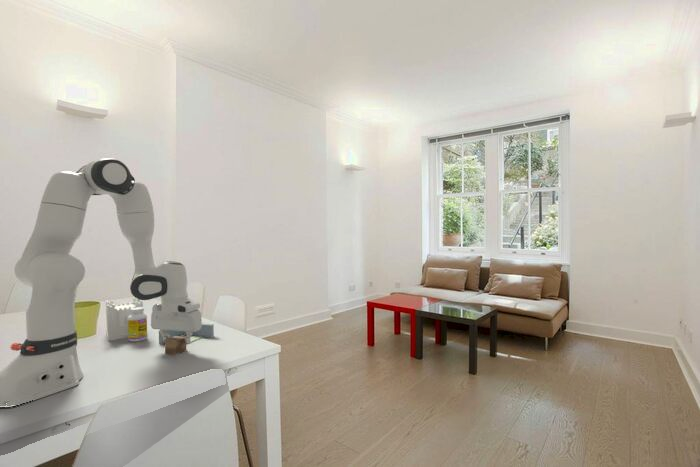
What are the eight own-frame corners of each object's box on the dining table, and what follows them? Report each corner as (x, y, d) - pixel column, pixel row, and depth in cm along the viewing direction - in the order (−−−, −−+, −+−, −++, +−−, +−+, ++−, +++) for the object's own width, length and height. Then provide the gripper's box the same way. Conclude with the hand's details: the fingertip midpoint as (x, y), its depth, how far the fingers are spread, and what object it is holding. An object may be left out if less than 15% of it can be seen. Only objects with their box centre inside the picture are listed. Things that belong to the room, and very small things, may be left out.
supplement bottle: (138, 342, 142) (137, 310, 142) (124, 341, 144) (123, 310, 143) (151, 337, 149) (150, 306, 148) (137, 336, 150) (136, 306, 150)
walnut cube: (176, 354, 129) (175, 341, 128) (165, 353, 130) (164, 340, 130) (186, 350, 133) (186, 336, 133) (175, 349, 135) (175, 335, 135)
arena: (189, 347, 136) (189, 334, 136) (158, 343, 141) (158, 330, 141) (213, 336, 149) (213, 324, 149) (184, 333, 154) (184, 321, 154)
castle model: (107, 341, 145) (106, 305, 145) (106, 332, 157) (105, 299, 157) (144, 334, 153) (143, 301, 152) (140, 326, 165) (139, 295, 164)
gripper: (145, 305, 132) (147, 342, 132) (191, 308, 126) (193, 346, 127) (159, 301, 138) (160, 337, 138) (203, 304, 132) (205, 340, 133)
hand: (176, 341), depth 132 cm, fingers open, 8 cm apart
